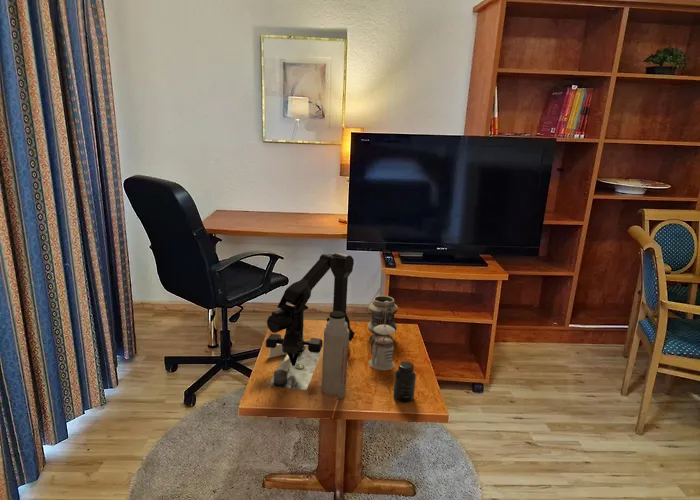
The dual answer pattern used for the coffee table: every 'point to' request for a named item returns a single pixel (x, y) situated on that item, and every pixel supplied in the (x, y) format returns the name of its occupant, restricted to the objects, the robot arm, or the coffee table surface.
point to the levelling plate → (299, 371)
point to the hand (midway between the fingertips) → (293, 365)
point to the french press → (382, 347)
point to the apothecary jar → (382, 314)
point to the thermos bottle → (335, 355)
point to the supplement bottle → (404, 382)
